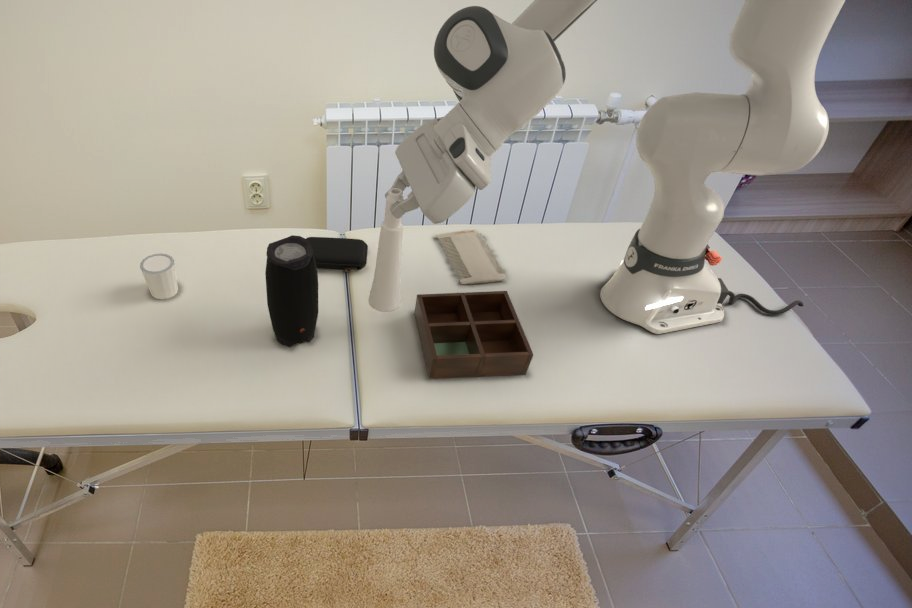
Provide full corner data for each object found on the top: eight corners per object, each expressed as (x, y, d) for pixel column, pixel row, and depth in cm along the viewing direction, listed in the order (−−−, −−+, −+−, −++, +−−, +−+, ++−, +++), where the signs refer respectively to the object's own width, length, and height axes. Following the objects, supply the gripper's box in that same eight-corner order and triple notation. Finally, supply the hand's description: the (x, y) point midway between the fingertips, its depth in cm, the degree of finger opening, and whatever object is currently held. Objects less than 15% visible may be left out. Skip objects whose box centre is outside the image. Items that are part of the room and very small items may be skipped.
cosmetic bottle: (381, 287, 108) (391, 177, 92) (407, 300, 106) (422, 190, 89) (361, 303, 105) (368, 192, 89) (387, 317, 103) (400, 205, 86)
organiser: (500, 310, 113) (506, 290, 109) (525, 374, 102) (533, 354, 98) (413, 314, 113) (416, 294, 109) (429, 379, 102) (433, 359, 98)
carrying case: (296, 273, 122) (365, 277, 121) (296, 262, 120) (366, 265, 118) (302, 245, 129) (367, 248, 128) (302, 233, 127) (368, 236, 125)
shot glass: (159, 305, 116) (151, 278, 111) (141, 290, 119) (133, 262, 114) (187, 291, 119) (180, 263, 114) (169, 276, 122) (162, 248, 117)
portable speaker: (318, 349, 107) (317, 263, 92) (269, 349, 107) (259, 263, 92) (318, 318, 112) (317, 233, 98) (271, 319, 113) (263, 233, 98)
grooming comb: (435, 235, 130) (435, 233, 129) (478, 231, 131) (478, 228, 130) (461, 286, 118) (461, 283, 118) (508, 281, 119) (508, 278, 118)
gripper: (430, 98, 89) (366, 163, 96) (469, 160, 76) (391, 230, 82) (453, 126, 93) (389, 186, 99) (494, 189, 79) (417, 254, 86)
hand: (390, 207), depth 91 cm, fingers closed on cosmetic bottle, 3 cm apart
